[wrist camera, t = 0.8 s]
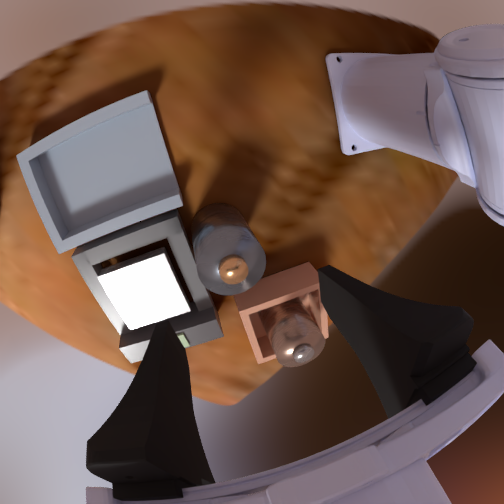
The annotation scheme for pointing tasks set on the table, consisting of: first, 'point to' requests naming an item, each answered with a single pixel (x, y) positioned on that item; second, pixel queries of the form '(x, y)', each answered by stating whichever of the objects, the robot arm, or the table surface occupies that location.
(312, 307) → the pink square tube
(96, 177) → the trough
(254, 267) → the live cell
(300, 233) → the table surface
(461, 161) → the robot arm
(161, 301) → the pad
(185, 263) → the digital scale
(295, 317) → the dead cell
